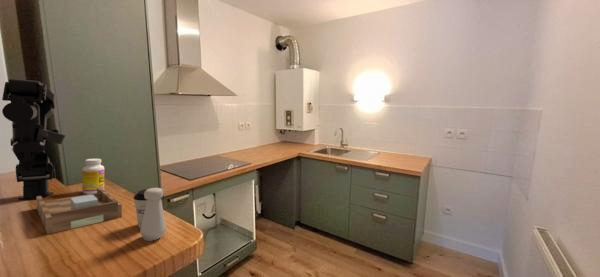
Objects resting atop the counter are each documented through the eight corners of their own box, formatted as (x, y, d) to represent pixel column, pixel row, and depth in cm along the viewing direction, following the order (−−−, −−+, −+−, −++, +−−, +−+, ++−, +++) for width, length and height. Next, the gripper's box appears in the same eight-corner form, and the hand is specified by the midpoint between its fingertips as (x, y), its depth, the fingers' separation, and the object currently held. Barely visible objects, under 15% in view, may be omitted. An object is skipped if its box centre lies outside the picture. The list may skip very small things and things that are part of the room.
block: (70, 213, 71) (70, 198, 71) (92, 208, 75) (92, 194, 75) (75, 219, 67) (75, 203, 67) (98, 214, 71) (98, 199, 71)
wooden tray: (36, 208, 78) (36, 193, 77) (100, 197, 90) (100, 184, 90) (47, 234, 63) (46, 215, 62) (121, 217, 75) (121, 201, 75)
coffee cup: (137, 221, 73) (137, 188, 72) (163, 219, 76) (163, 187, 75) (129, 231, 67) (130, 195, 66) (158, 229, 69) (159, 194, 68)
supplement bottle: (100, 194, 94) (100, 161, 93) (79, 195, 92) (78, 161, 91) (107, 189, 100) (107, 158, 99) (86, 189, 98) (86, 158, 97)
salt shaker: (154, 244, 61) (154, 193, 60) (134, 241, 62) (134, 190, 61) (170, 234, 67) (171, 187, 66) (152, 230, 68) (153, 184, 67)
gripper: (67, 123, 76) (68, 173, 77) (58, 120, 87) (58, 163, 89) (12, 122, 67) (14, 178, 68) (9, 119, 79) (11, 167, 80)
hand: (27, 171), depth 76 cm, fingers closed
